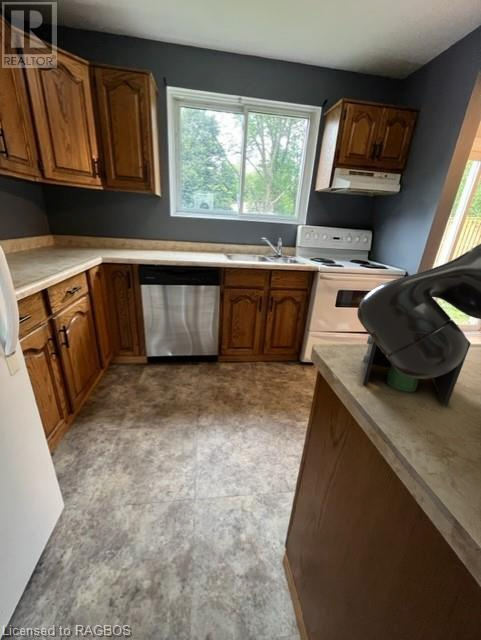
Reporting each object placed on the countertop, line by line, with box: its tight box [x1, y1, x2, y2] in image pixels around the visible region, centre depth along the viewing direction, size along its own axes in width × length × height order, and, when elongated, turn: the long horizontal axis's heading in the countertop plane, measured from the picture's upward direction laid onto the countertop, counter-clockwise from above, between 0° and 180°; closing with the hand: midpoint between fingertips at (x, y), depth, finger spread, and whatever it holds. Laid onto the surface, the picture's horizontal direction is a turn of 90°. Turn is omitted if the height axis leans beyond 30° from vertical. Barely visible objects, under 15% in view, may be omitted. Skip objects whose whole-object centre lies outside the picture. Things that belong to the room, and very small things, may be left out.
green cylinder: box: [386, 364, 420, 393], centre depth 63 cm, size 6×6×10 cm
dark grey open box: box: [362, 334, 472, 407], centre depth 64 cm, size 18×13×15 cm
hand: (408, 321), depth 56 cm, fingers open, 8 cm apart
